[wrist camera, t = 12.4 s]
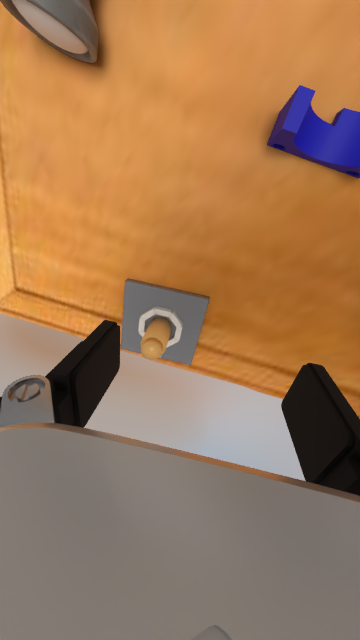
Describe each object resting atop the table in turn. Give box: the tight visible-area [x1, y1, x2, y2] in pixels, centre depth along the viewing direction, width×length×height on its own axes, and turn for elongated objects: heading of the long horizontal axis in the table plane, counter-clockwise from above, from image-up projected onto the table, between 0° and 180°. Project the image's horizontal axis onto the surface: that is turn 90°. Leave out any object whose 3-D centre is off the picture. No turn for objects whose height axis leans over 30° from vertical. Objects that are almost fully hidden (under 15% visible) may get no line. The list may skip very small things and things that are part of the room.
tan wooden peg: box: [141, 317, 172, 360], centre depth 34 cm, size 4×4×8 cm
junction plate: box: [121, 279, 209, 365], centre depth 37 cm, size 14×14×2 cm
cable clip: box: [267, 85, 360, 178], centre depth 22 cm, size 12×4×6 cm, turn 73°
